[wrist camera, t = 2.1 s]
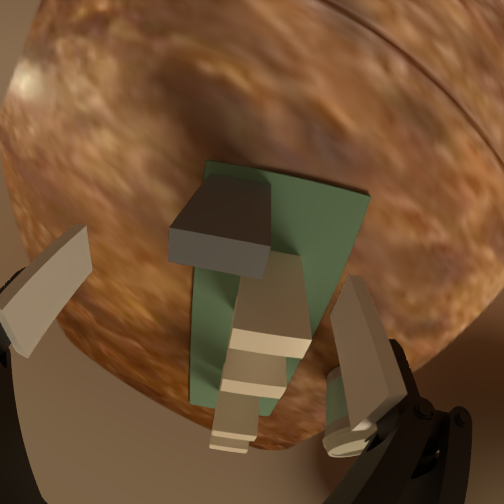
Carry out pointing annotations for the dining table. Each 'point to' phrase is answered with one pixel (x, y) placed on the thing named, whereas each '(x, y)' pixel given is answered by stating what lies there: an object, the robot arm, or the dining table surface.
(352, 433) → the coffee cup
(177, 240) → the slate domino
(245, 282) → the domino
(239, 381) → the domino
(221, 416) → the domino
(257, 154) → the dining table surface
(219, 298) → the mat
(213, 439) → the domino
